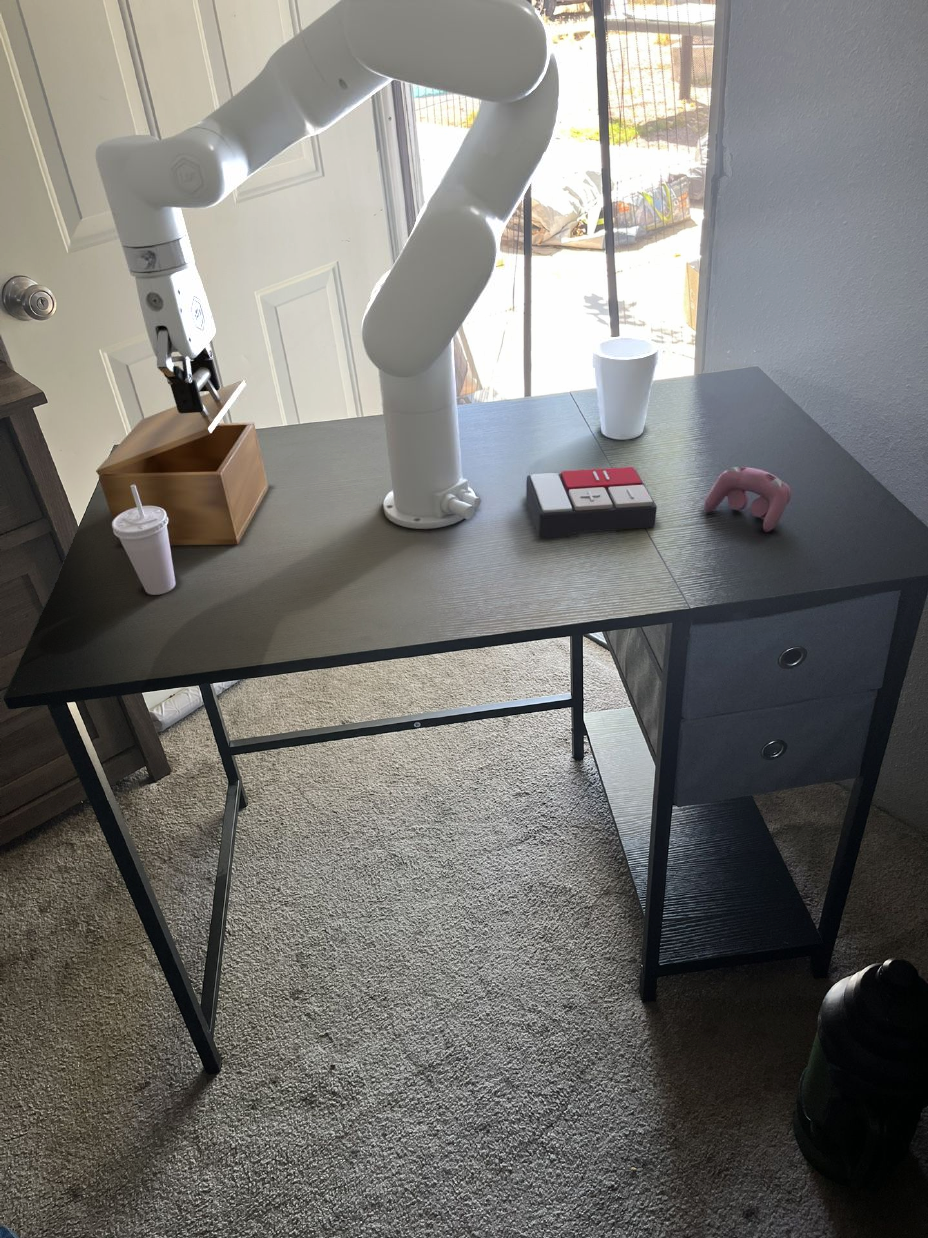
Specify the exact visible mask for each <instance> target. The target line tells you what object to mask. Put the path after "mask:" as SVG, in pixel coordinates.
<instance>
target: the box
mask: <svg viewBox="0 0 928 1238" xmlns="http://www.w3.org/2000/svg"><path fill="white" fill-rule="evenodd" d="M98 480H99V482H100V485H101V488H102V491H103V494H104V495H103V496H104V498H105V500H106V504H107V507H108V510H109V512H110V515H111V518H112V521H113V520H114V519H115V518H116V517H117V516H118V515H119V514H121V513H123V512H125V511H127V510H129V509H132V508H136V507H137V506H136V502H135V499H134V496H133V493H132V490H131V485H135V486H136V489H137V492H138V495H139V499H140V502H141V505H142V506H156V507H160V508H162V509H164V510H165V512H166V514H167V517H168V524H167V530H168V537H169V544H170V546H212V545H213V546H217V545H220V546H221V545H239V543H240V541H241V539H242V538H243V536H244V534H245V532H246V530H247V528H248V526H249V525H250V523H251V521H252V519H253V517H254V516H255V514H256V512H257V510H258V508H259V506H260V504H261V503H262V501H263V499H264V497H265V495H266V494H267V491H268V489H269V485H268V480H267V475H266V471H265V465H264V463H263V457H262V453H261V447H260V444H259V438H258V435H257V430H256V425H255V422H254V421H252V422H251V421H250V422H224V423H223V422H219V423H218V425H217V426H216V427H215V429H214V430H213V431H212V433H211V434H209V435H207V436H204V437H201V438H199V439H196V440H193V441H191V442H188V443H186V444H183V445H180V446H178V447H175V448H172V449H170V450H167V451H164V452H162V453H159V454H156V455H154V456H151V457H148V458H146V459H143V460H140V461H138V462H135V463H132V464H130V465H127V466H125V467H122V468H119V469H117V470H114V471H111V472H109V473H106V474H103V475H101V476H99V475H98ZM118 540H119V542H120V545H121V546H122V547H123V545H122V543H121V541H120V538H119V537H118Z"/></svg>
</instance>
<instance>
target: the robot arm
mask: <svg viewBox="0 0 928 1238" xmlns="http://www.w3.org/2000/svg"><path fill="white" fill-rule="evenodd" d="M394 80H395V81H398V82H402V83H405V84H409V85H412V86H417V87H420V88H426V89H430V90H435V91H439V92H444V93H447V94H453V95H457V96H461V97H465V98H470V99H475V100H478V101H480V105H479V108H478V110H477V114H476V115H475V118H474V120H473V122H472V124H471V126H470V128H469V130H468V131H467V133H466V135H465V137H464V139H463V141H462V143H461V145H460V147H459V149H458V151H457V153H456V154H455V156H454V158H453V160H452V161H451V163H450V165H449V166H448V168H447V170H446V172H445V173H444V175H443V177H442V178H441V180H440V181H439V183H438V185H437V187H435V190H434V191H433V193H432V194H431V195H430V197H429V198H428V199H427V200H426V201H425V202H424V204H423V206H422V207H421V209H420V210H419V213H418V215H417V218H416V221H415V223H414V226H413V228H412V231H411V232H410V235H409V236H408V238H407V240H406V242H405V244H404V245H403V247H402V249H401V251H400V253H399V255H398V257H397V258H396V260H395V262H394V264H393V265H392V266H391V269H390V270H388V271H387V272H386V273H384V274H383V275H382V276H381V278H380V279H379V280H378V282H377V283H376V284H375V286H374V288H373V290H372V292H371V295H370V298H369V300H368V303H367V307H366V310H365V312H364V315H363V318H362V322H361V331H360V332H361V341H362V346H363V349H364V352H365V353H366V356H367V357H368V359H369V360H370V362H371V363H372V364H373V366H375V367H376V368H377V370H378V371H377V372H378V381H379V382H378V383H379V391H380V400H381V407H382V416H383V424H384V432H385V439H386V448H387V456H388V461H389V462H388V463H389V471H390V480H391V487H392V490H391V491H389V492H388V493H387V494H386V495H385V497H384V499H383V503H382V506H383V513H384V515H385V517H386V518H387V519H388V520H389V521H391V522H392V523H394V524H395V525H398V526H401V527H404V528H408V529H416V530H429V529H430V530H433V529H439V528H445V527H447V526H451V525H454V524H456V523H458V522H461V521H462V520H464V519H465V520H467V521H470V520H472V519H473V518H474V516H475V514H476V508H478V507H480V505H481V501H482V500H481V498H480V497H479V496H476V494H475V491H474V490H473V489H472V488H471V487H470V486H469V482H468V479H466V478H464V477H463V467H462V454H461V442H460V425H459V414H458V402H457V383H456V370H455V356H454V355H455V354H454V353H455V352H454V350H455V349H454V337H455V336H456V334H457V333H458V332H459V330H460V328H461V327H462V325H463V323H464V322H465V320H466V319H467V318H468V316H469V315H470V313H471V311H472V310H473V308H474V307H475V305H476V304H477V302H478V301H479V298H480V297H481V295H482V294H483V292H484V290H485V289H486V288H487V285H488V284H489V282H490V280H491V278H492V276H493V274H494V272H495V269H496V266H497V264H498V260H499V256H500V246H501V237H502V234H503V233H504V230H505V228H506V226H507V224H508V223H509V221H510V219H511V217H512V216H513V214H514V212H515V211H516V209H517V207H518V206H519V204H520V202H521V200H522V199H523V198H524V196H525V194H526V192H527V190H528V189H529V186H530V185H531V183H532V181H533V180H534V178H535V176H536V174H537V173H538V171H539V169H540V168H541V166H542V164H543V162H544V161H545V158H546V156H547V155H548V153H549V150H550V147H551V145H552V142H553V139H554V137H555V134H556V129H557V126H558V121H559V115H560V109H561V98H562V97H561V96H562V95H561V94H562V83H561V71H560V65H559V61H558V56H557V53H556V50H555V46H554V43H553V41H552V38H551V35H550V33H549V30H548V28H547V25H546V23H545V21H544V19H543V17H542V16H541V14H540V12H539V11H538V9H537V8H536V7H535V6H534V5H533V4H532V3H531V2H529V1H528V0H339V1H338V2H336V3H335V4H334V5H333V6H331V7H330V8H329V9H327V11H325V12H324V13H322V14H321V15H320V16H319V17H318V18H316V19H315V20H314V21H312V22H311V23H310V24H309V25H308V26H307V27H306V26H305V28H304V29H302V30H301V31H299V32H298V33H297V34H296V35H294V36H293V37H292V38H290V39H289V40H287V41H286V42H285V43H284V44H282V45H281V46H280V47H278V49H276V51H274V53H273V54H271V56H270V57H269V59H268V60H267V62H266V63H265V66H264V67H263V68H262V70H261V71H260V72H259V74H258V75H256V77H255V78H253V79H252V80H251V81H250V82H249V83H248V84H247V85H245V86H244V87H243V88H242V89H240V90H239V91H238V92H237V93H235V94H234V96H232V97H231V98H229V99H228V100H227V101H226V102H224V103H223V104H222V105H220V106H218V108H217V109H215V110H214V111H213V112H211V113H210V114H209V115H207V116H206V117H204V118H203V119H202V120H200V121H199V122H198V123H195V124H193V125H190V126H189V127H188V128H186V129H185V130H183V131H181V132H179V133H177V134H175V135H172V136H169V137H166V138H162V139H159V138H158V137H156V136H153V135H150V134H135V135H134V134H133V135H126V136H125V135H124V136H119V137H115V138H111V139H108V140H104V141H102V142H101V143H99V144H98V146H97V147H96V149H95V162H96V165H97V169H98V173H99V175H100V179H101V182H102V186H103V189H104V193H105V195H106V199H107V202H108V205H109V208H110V212H111V215H112V218H113V221H114V225H115V228H116V231H117V235H118V238H119V241H120V244H121V248H122V252H123V255H124V258H125V261H126V265H127V268H128V271H129V274H130V276H132V277H134V278H135V279H134V281H135V285H136V290H137V296H138V300H139V304H140V309H141V314H142V317H143V322H144V325H145V329H146V332H147V336H148V340H149V343H150V344H151V348H152V351H153V354H154V356H155V357H156V367H157V369H158V370H159V371H160V372H161V373H162V374H163V376H164V377H165V378H166V382H167V384H168V385H169V386H170V389H171V393H172V396H173V399H174V402H175V406H177V409H178V412H179V413H197V412H202V411H203V409H204V407H203V404H202V400H201V394H200V393H203V392H209V391H208V389H207V388H206V386H205V385H204V386H203V387H202V389H201V390H200V391H199V390H198V386H197V382H196V380H192V376H193V374H194V373H195V372H196V371H197V370H198V369H199V368H200V367H206V368H207V369H209V371H210V373H211V377H210V381H211V383H212V384H213V386H214V388H215V390H216V391H217V390H219V389H221V385H220V381H219V380H220V379H219V377H218V373H217V369H216V366H215V362H214V359H213V357H214V356H213V350H212V348H211V345H210V342H211V341H212V340H213V338H214V336H216V331H217V329H216V325H215V322H214V318H213V315H212V311H211V308H210V305H209V301H208V297H207V295H206V292H205V288H204V286H203V283H202V279H201V277H200V274H199V273H198V270H197V267H196V265H195V263H196V262H195V257H194V254H193V251H192V247H191V244H190V243H191V242H190V240H189V239H190V238H189V235H188V231H187V227H186V224H185V219H184V217H183V212H182V209H187V210H202V209H203V210H205V209H209V208H211V207H214V206H216V205H218V204H219V203H221V202H222V201H223V200H224V199H225V198H226V197H227V196H228V195H229V194H230V193H231V192H232V191H234V190H235V189H236V188H237V187H239V186H240V185H241V184H242V183H244V182H245V181H246V180H247V179H249V178H250V177H251V176H252V175H254V174H255V173H257V172H258V171H259V170H261V169H262V168H263V167H264V166H266V165H268V163H270V162H271V161H272V160H274V159H275V158H277V157H278V156H279V155H281V154H282V153H283V152H285V151H286V150H288V149H290V148H291V147H292V146H294V145H296V144H297V143H298V142H300V141H302V140H304V139H305V138H309V137H312V136H315V135H318V134H320V133H322V132H323V131H325V130H327V129H328V128H329V127H331V126H332V125H334V124H335V123H336V122H338V121H339V120H340V119H341V118H343V117H344V116H345V115H347V114H348V113H350V112H351V111H352V110H354V109H355V108H357V107H358V106H360V105H361V104H362V103H363V102H364V101H366V100H368V99H369V98H371V96H373V95H374V94H376V93H377V92H378V91H380V90H381V89H382V88H384V87H385V86H387V85H388V84H390V83H391V82H392V81H394ZM172 353H178V354H179V355H177V356H172ZM175 363H181V365H182V368H181V367H180V366H178V365H175Z"/></svg>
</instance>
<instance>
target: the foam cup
mask: <svg viewBox="0 0 928 1238" xmlns="http://www.w3.org/2000/svg"><path fill="white" fill-rule="evenodd" d="M591 357H592V358H591V360H592V361H591V362H592V363H591V364H592V368H593V370H594V377H595V385H596V386H595V387H596V394H597V405H598V413H599V421H600V422H599V423H600V428H601V434H602V435H603V436H605V437H606V438H610V439H613V440H630V439H635V438H637V437H639V436H641V435H642V433H643V432H644V428H645V423H646V419H647V413H648V408H649V403H650V398H651V392H652V388H653V381H654V377H655V372H656V368H657V366H658V360H659V359H658V358H659V347H658V344H657V343H656V342H655V341H653V340H651V339H649V338H644V337H640V336H639V337H638V336H616V337H608V338H605V339H602V340H599V341H597V342H596V343H595V344H594V345H592V356H591Z"/></svg>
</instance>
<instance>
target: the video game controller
mask: <svg viewBox="0 0 928 1238" xmlns="http://www.w3.org/2000/svg"><path fill="white" fill-rule="evenodd" d="M747 492H750V493H753V494H756V495H758V496H759V497H757V498H755V499H754V500H753V501H752V503H751V504H750V507H749V509H750V512H751V514H752V515H753V516H754V517H757V518H763V523H762V529H763V531H764V532H765V533H769V532H771V531H772V530H774V529H775V527H776V526H777V524H778V523H779V521H780V520H781V518H782V516H783V514H784V512H785V509H786V506H787V505H788V504H789V502H790V501H791V499H792V489H791V488H790V487H789V485H788V484H787V483H786V482H784V481H782V480H781V479H780V478H779V477H777V476H776V475H774V474H773V473H770V472H769V471H766V470H763V469H760V468H756V467H748V466H747V467H745V466H733V467H729V468H728V469H726V470H724V471H723V472H721V474H720V475H719V476H718V478H717V479H716V480H715V482H714V484H713V486H712V487H711V489H710V491H709V492H708V494H707V495H706V497H705V501H704V504H703V511H704V512H705V513H707V514H708V513H712V512H713V511H714V510H716V509H717V508H718V506H719V505H720V504H721V503H722V502H723V500H725V498H726V497H727V503H728V506H729V507H730V508H731V510H735V511H736V510H737V511H742V510H745V508H746V507H748V504H749V497H748V494H747Z"/></svg>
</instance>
